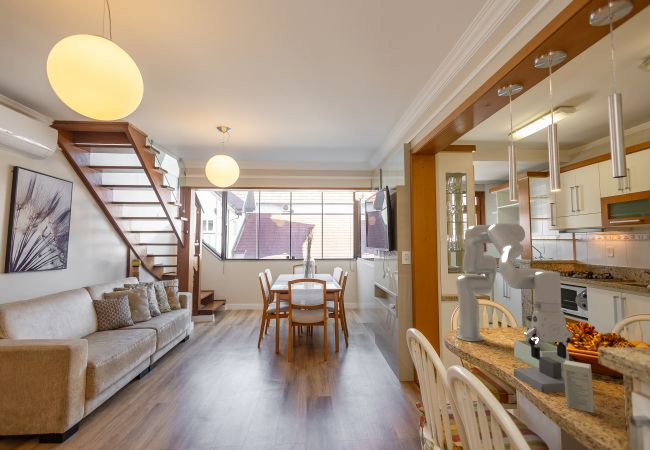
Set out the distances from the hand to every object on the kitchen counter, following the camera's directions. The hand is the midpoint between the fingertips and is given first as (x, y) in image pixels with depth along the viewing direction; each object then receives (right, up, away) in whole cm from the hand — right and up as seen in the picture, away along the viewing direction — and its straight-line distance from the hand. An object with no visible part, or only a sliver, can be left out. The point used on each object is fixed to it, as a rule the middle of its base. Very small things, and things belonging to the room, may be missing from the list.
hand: (548, 357), depth 111 cm
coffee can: (+20, -11, +34) cm, 41 cm away
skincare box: (-3, -7, -17) cm, 19 cm away
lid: (0, -8, -1) cm, 8 cm away
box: (+9, -9, +17) cm, 21 cm away
